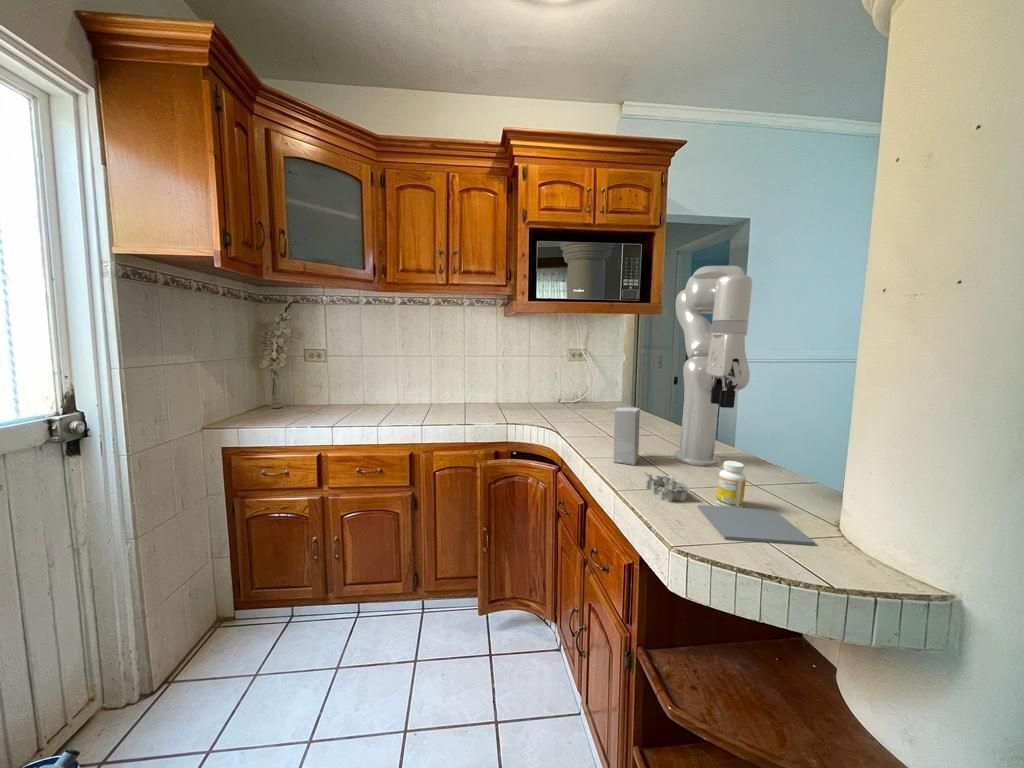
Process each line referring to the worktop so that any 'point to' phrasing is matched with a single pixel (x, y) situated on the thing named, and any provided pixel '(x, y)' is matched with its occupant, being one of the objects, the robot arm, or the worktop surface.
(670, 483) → the egg carton
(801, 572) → the worktop surface
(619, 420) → the skincare box
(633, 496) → the worktop surface
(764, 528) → the mat
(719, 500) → the supplement bottle
